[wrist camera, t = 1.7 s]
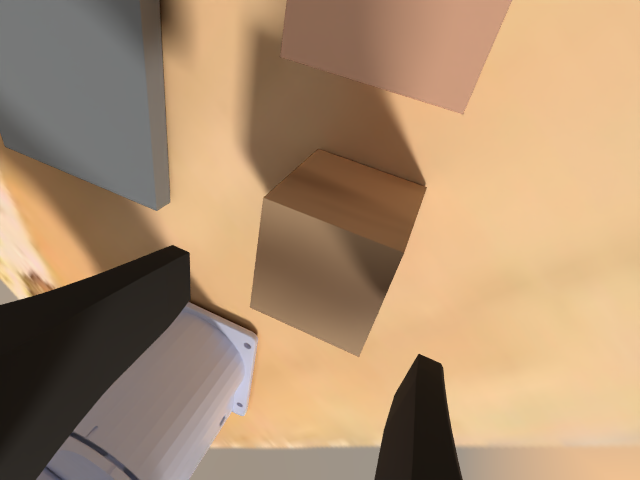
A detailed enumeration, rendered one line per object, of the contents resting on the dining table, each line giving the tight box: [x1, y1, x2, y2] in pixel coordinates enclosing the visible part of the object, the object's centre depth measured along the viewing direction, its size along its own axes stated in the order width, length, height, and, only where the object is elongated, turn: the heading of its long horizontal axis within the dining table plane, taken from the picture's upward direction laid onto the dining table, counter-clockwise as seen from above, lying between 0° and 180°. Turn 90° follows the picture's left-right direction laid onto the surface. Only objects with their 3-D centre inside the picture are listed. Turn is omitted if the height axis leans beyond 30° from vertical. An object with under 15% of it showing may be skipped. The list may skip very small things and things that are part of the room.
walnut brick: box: [250, 149, 427, 357], centre depth 14 cm, size 5×4×5 cm
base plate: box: [0, 0, 170, 211], centre depth 17 cm, size 10×10×1 cm
